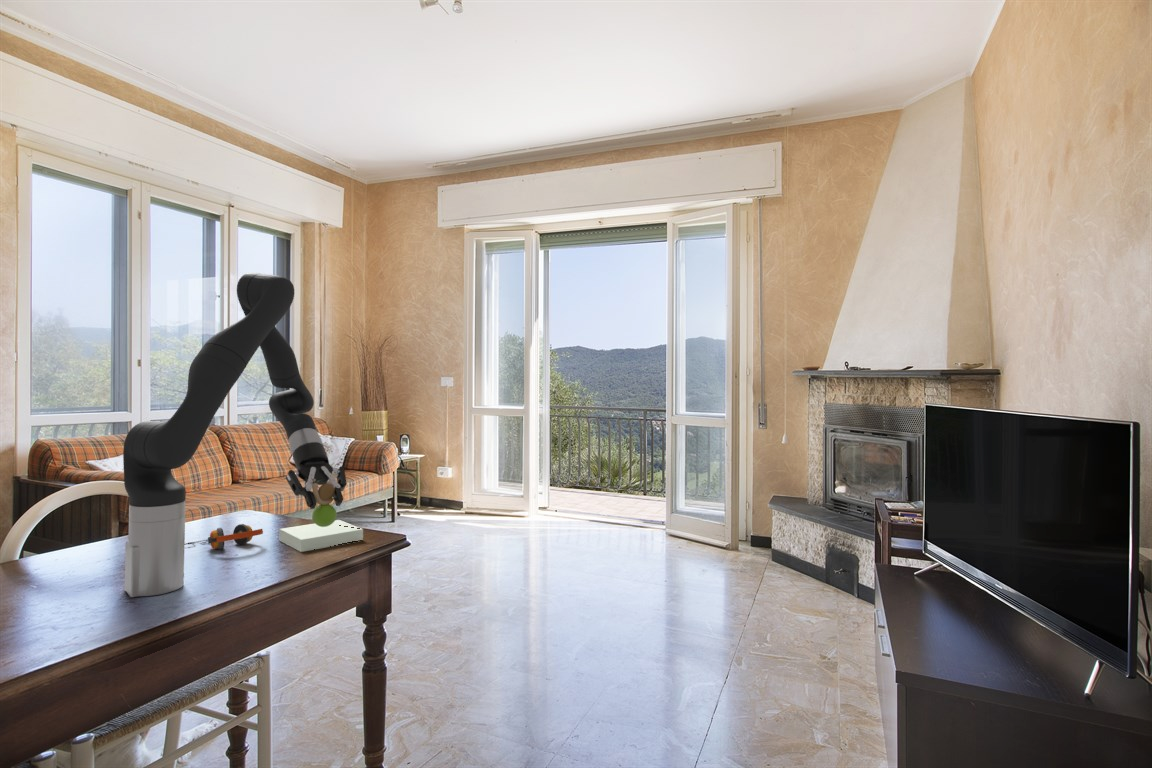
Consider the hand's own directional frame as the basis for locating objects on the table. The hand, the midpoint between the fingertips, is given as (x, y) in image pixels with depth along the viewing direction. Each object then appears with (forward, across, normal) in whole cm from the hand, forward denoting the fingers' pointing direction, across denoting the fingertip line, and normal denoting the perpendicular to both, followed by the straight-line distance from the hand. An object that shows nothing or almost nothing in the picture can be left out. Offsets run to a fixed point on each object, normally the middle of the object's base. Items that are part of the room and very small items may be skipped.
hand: (326, 505), depth 143 cm
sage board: (-2, +6, +19) cm, 20 cm away
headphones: (-9, -13, +27) cm, 31 cm away
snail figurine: (+3, 0, +5) cm, 6 cm away
